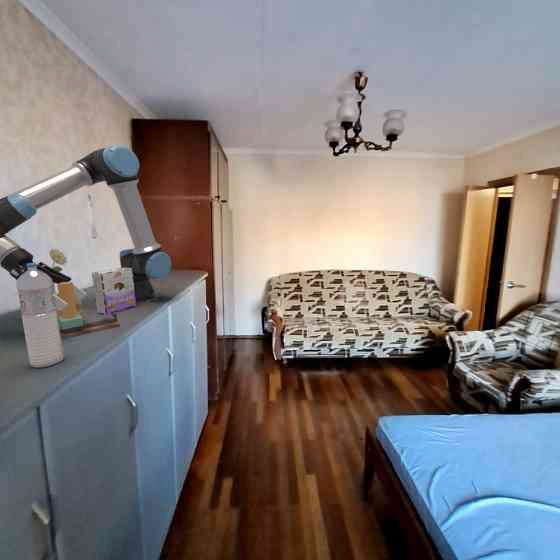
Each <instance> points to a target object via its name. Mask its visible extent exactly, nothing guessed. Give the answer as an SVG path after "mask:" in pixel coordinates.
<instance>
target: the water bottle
mask: <svg viewBox="0 0 560 560" xmlns="http://www.w3.org/2000/svg"><path fill="white" fill-rule="evenodd" d="M37 264H38V263H36V262H34V263H29V264H27V268H28V270H27V271H26V272H24V273H23V274H22V275H21V276H20V277H19V278H18V280H16V281H15V282H16V283H15V286H16V290H17V294H18V300H19V305H20V310H21V318H22V319H21V321H22V326H23V330H24V331H23V332H24V337H25V338H24V339H25V344H26V348H27V355H28V360H29V364H30V366H31V367H32V368H35V369H38V368H39V369H41V368H46V367H47V368H48V367H51V366H55V365H57V364H59V363H60V362H62V361H63V360H64V354H65V353H64V349H63V348H64V347H63V341H62V339H61V334H60V328H59V321H58V314H57V310H56V305H55V299H54V292H53V286H52V285H53V282H52V279H51V278H50V277H49V276H48V275H47V274H46V273H44V272H42V271H40V270H38V269H37Z"/></svg>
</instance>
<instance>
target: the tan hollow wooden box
mask: <svg viewBox="0 0 560 560" xmlns="http://www.w3.org/2000/svg"><path fill="white" fill-rule="evenodd" d="M55 295H56V296H57V297H59V293H57V294H55ZM75 302H76V309H77V313H78V314H79V315H80V316H81V317H82V320H83V322H85V320H84V312H83V304H82V300H79V299H78V298H77V297H75ZM56 310H57V314H58V317H59V316H62V313H61V311H59V310H58V309H56ZM58 321H59V318H58ZM59 327H61V326H60V324H59Z"/></svg>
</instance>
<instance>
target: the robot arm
mask: <svg viewBox="0 0 560 560" xmlns="http://www.w3.org/2000/svg"><path fill="white" fill-rule="evenodd" d="M139 170H140V162H139V159H138V156H137V155H136V154H135V153H134V152H133V150H131V149H130V148H129V147H127V146H125V145H120V144H113V145H107V146H106V147H103V148H100V149H97V150H96V149H95V150H93V151H92V152H90V153H89V154H87V155H85V156H84V157H82V158H80V159H78V160H76V161H75V162H72V163H71V166H70V167H69V168H67V169H64V170H61V171H59V172H57V173H55V174H53V175H50V176H48V177H46V178H44V179H41V180H39V181H37V182H34V183H32V184H30V185H28V186H26V187H24V188H22V189H21V188H20V189H19V190H16V191H15V192H13V193H11V194H8V195H6V196H4V197H2V198H0V267H1V268H2V269H4V270H5V271H6V272H8V273H9V275H10V276H11V277H12V278H13V279H15V280H16V281H17V280H18V278H19V277H20V276H21V275H22V274H23V273H24V272H26V271H27V270H28V268H27V264H29V263H35V262H34V261H33V259H34V255H33V254H32V253H31V252H30V251H27V250H26V249H25V248H23V247H22V246H21V245H20V244H18V243H17V242H16V241H14V240H13V239H12V238H10V237H8V236H7V234H9V233H10V232H11V231H12V230H14V229H16V228H18V227H19V226H20V225H22V224H23V223H25V222H26V221H28V220H30V219H32V218H33V217H34V216H35V215H36V214H37V212H38V209H41V208H43V207H45V206H47V205H49V204H50V203H53V202H55V201H57V200H58V199H61V198H63V197H64V196H67V195H69V194H71V193H73V192H75V191H77V190H79V189H81V188H83V187H85V186H87V187H92V186H93V185H96V184H98V183H103V182H105V184H106V186H107V187H108V188H109V189H112V190H113V192H114V195H115V198H116V201H117V203H118V205H119V209H120V212H121V214H122V217H123V219H124V222H125V225H126V227H127V230H128V233H129V236H130V238H131V241H132V244H133V247H134V248H127V249H122V250H121V251H119V261H120V262H119V264H120V268H132V271H133V280H134V288H135V297H136V302H139V301H145V300H146V301H147V300H150V299H153V298H155V297H156V291H155V288H154V285H153V284H152V282H151V280H160V279H162V278H165V277H167V275H168V274H169V272H170V270H171V268H172V260H171V259H172V258H171V257H170V255H168V254H167V253H166V252H163V249H162V245H161V244H160V243H158V242H156V239H155V236H154V234H153V231H152V227H151V224H150V222H149V218H148V216H147V213H146V209H145V207H144V203H143V200H142V198H141V196H140V192H139V189H138V187H137V185H138V183H139V181H140V180H139V176H138V172H139ZM53 268H54V267H53ZM53 268H52V267H50V266H49V265H47V264H46V263H44V262H43V261H39V262H38V263H37V269H38V270H40V271H42V272H44V273H46V274H47V275H48V276H49V277H50V278H51V279H52V282H54V284H59V283H62V282H72V278H71V277H70V276H68V275H66V274H64V273H62V272H61V271H60V272H58V271H57V270H55V269H53ZM73 288H74V295H75V297H77V298H78V299H79V300H81V301H82V300H83V299H84V298H85V297H86V296H87V293H86V292H85V291H84V290H82V289H81V288H80V287H78V286H77V285H76V284H74V283H73ZM54 299H55V305H56V309H58V310H59V311H62V310H63V309H64V308H65V307H66V306H67V305H68V304H67V303H66V302H64V301H63V300H62V299H60V298H59V297H57V296H56V295H55V294H54Z"/></svg>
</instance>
